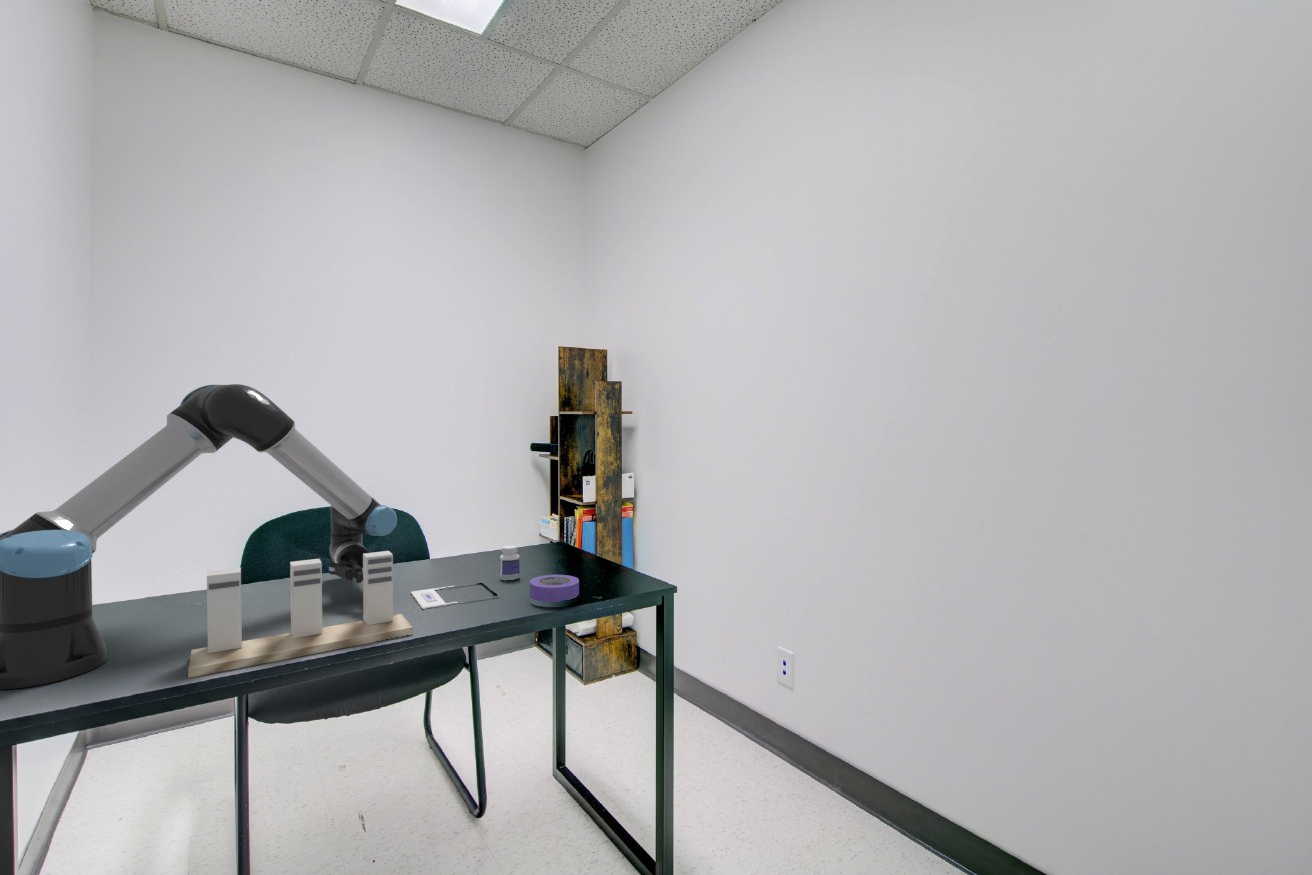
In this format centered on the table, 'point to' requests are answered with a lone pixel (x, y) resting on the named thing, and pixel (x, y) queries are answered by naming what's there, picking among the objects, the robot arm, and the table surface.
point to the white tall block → (306, 597)
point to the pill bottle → (509, 562)
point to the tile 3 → (377, 587)
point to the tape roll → (554, 588)
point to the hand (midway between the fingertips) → (371, 580)
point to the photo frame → (429, 598)
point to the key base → (295, 645)
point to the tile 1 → (224, 610)
